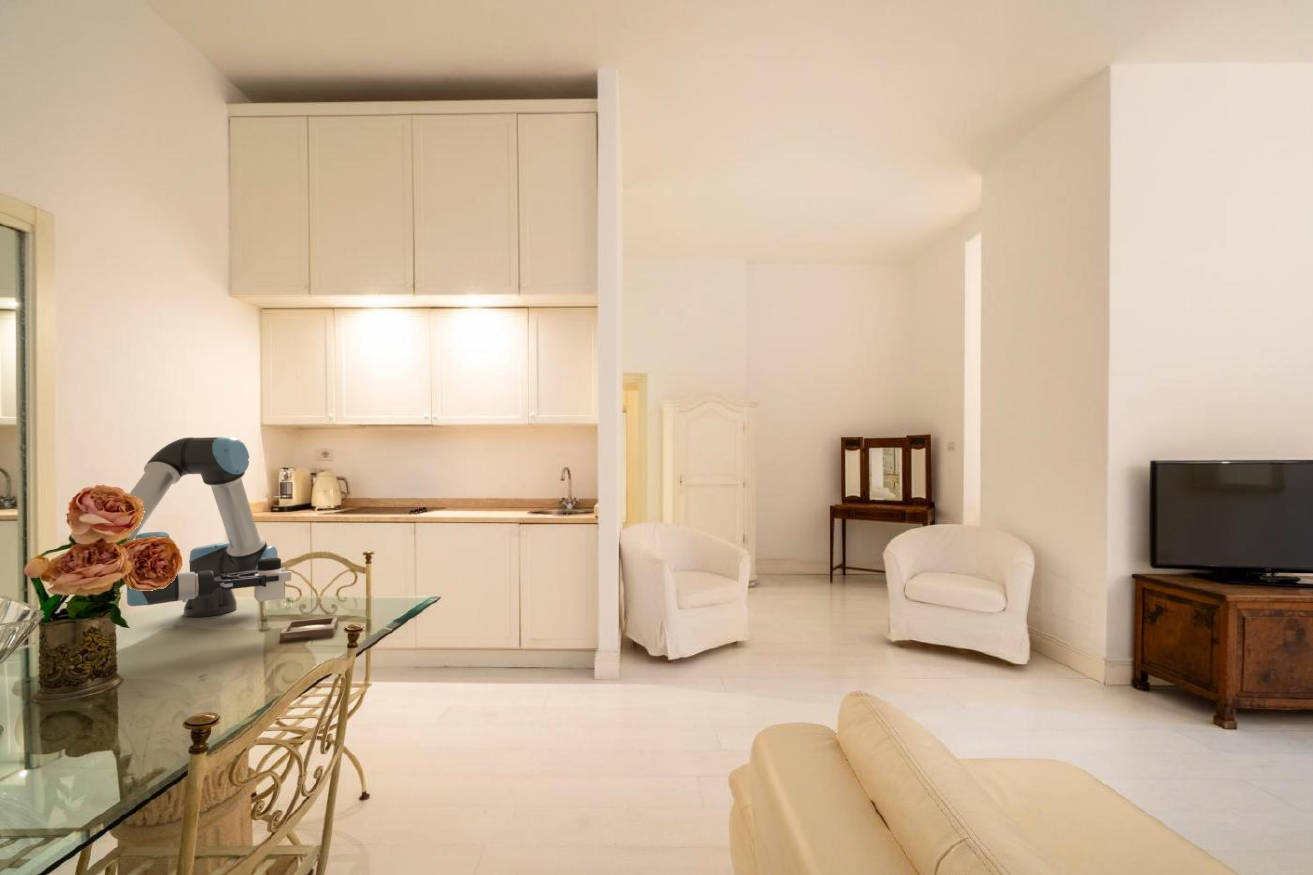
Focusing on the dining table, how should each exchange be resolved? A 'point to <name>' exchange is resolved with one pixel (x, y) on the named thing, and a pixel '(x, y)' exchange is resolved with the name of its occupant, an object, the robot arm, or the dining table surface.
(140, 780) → the dining table surface
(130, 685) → the dining table surface
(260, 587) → the medicine bottle
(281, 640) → the wooden tray
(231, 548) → the robot arm
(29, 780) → the dining table surface
